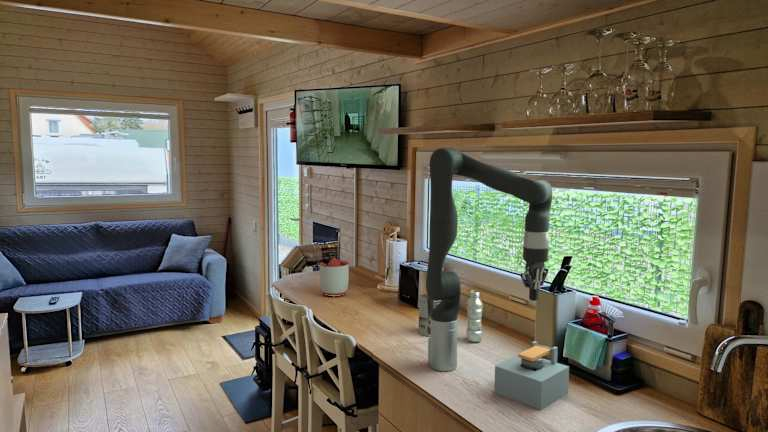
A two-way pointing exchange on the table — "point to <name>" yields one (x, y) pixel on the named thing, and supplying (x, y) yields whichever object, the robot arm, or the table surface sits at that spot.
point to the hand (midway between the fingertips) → (533, 300)
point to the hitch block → (532, 381)
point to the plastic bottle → (474, 317)
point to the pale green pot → (334, 277)
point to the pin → (532, 364)
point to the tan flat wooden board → (535, 352)
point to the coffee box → (426, 314)
